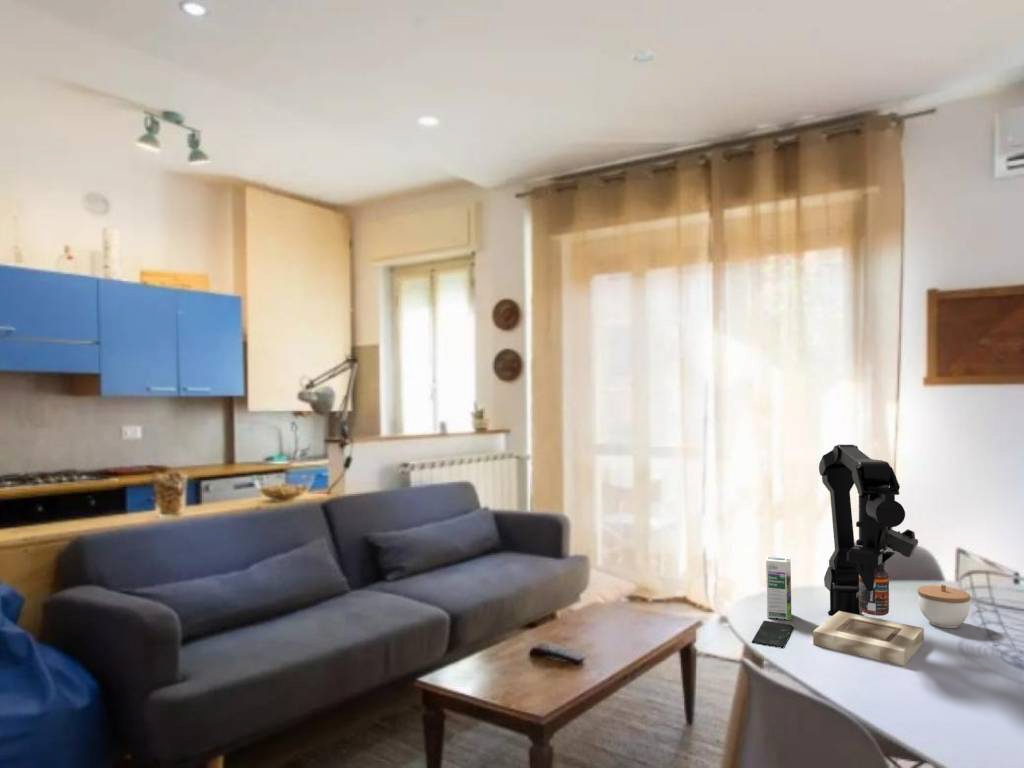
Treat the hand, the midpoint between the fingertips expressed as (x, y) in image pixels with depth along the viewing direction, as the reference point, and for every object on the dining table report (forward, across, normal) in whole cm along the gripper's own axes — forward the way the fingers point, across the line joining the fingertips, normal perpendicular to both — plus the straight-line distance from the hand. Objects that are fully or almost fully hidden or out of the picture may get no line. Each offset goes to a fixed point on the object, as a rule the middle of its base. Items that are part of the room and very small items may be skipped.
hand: (873, 587), depth 152 cm
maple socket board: (+13, 0, +1) cm, 13 cm away
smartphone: (+13, -9, +19) cm, 25 cm away
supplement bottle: (+6, 0, 0) cm, 6 cm away
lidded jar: (+13, +25, -9) cm, 30 cm away
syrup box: (+13, +5, +23) cm, 27 cm away
